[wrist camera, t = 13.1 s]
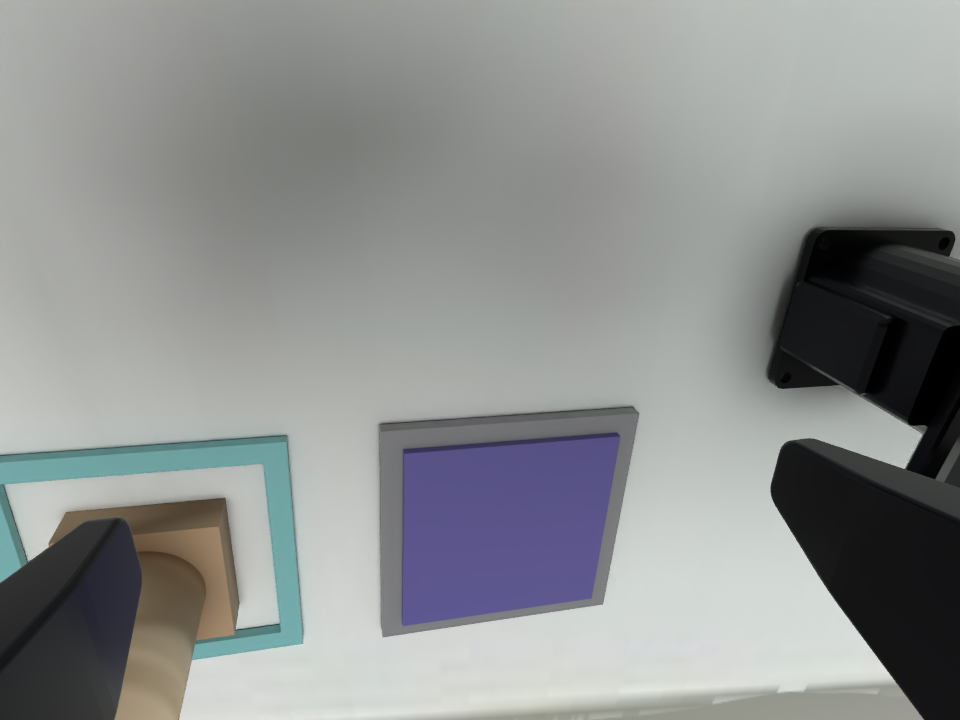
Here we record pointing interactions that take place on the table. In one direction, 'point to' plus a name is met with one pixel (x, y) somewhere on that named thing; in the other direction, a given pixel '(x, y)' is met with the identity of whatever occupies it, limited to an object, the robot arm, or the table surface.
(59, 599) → the robot arm
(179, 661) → the stamp
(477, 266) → the table surface
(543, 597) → the ink pad
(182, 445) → the teal flat square frame
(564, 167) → the table surface
